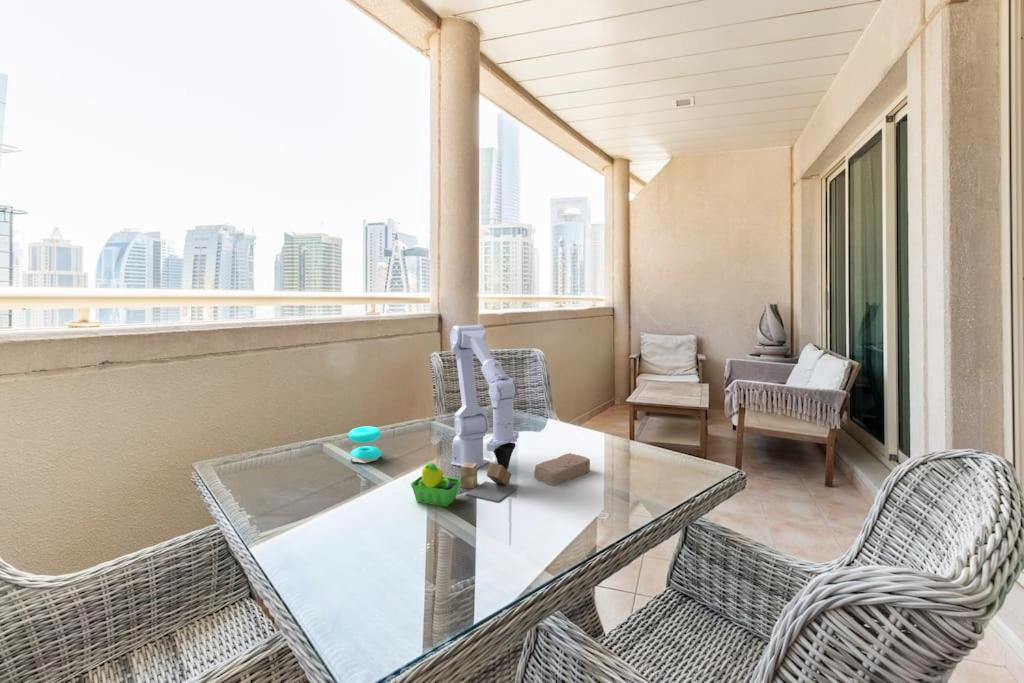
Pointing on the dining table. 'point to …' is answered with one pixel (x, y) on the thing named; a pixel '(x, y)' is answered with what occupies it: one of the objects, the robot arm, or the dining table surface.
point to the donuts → (365, 436)
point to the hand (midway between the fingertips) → (503, 468)
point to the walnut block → (499, 474)
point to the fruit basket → (435, 486)
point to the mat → (491, 491)
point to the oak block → (468, 475)
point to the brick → (561, 469)
